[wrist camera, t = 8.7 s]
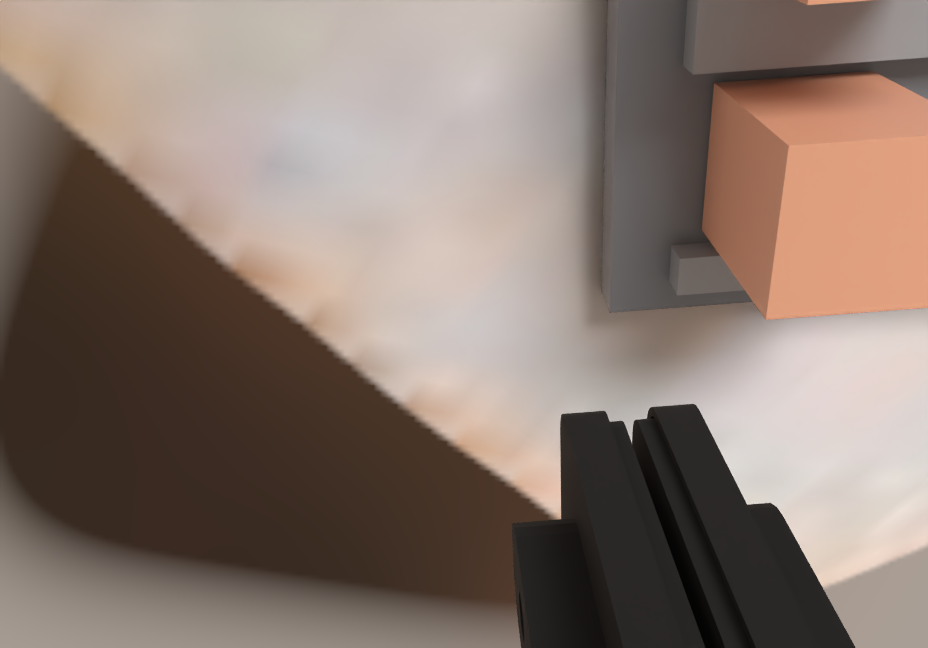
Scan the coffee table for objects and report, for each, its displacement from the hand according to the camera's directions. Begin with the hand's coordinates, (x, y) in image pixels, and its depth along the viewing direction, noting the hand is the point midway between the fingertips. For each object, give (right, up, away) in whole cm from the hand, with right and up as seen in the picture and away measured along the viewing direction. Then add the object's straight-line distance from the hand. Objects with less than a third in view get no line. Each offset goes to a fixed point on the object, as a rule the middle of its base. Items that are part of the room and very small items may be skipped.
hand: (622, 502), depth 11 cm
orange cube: (+5, +6, +9) cm, 12 cm away
